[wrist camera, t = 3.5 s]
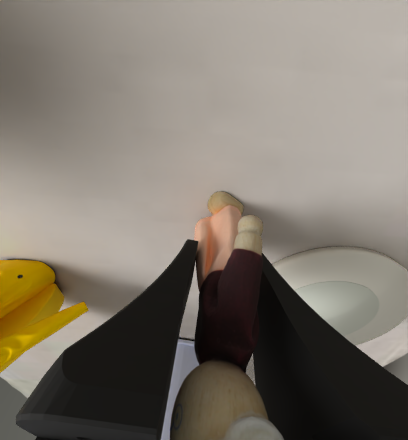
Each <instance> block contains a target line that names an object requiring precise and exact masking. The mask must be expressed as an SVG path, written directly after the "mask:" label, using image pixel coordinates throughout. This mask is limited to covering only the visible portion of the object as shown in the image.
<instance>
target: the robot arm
mask: <svg viewBox="0 0 408 440" xmlns="http://www.w3.org/2000/svg"><path fill="white" fill-rule="evenodd" d="M197 248H198V241H195V240H189V239H188V240H187V241H186V242H185V244H184V246H183V248H182V249H181V251H180V252H179V254H178V255H177V256H176V258H175V259H174V260H173V261H172V263H171V264H170V265H169V266H168V267H167V269H166V270H165V271H164V272H163V273H162V274H161V275H160V276H159V277H158V278H157V279H156V280H155V281H154V282H153V283H152V284H151V285H150V286H149V287H148V288H147V289H146V290H145V291H144V292H143V293H141V294H140V295H139V296H138V297H137V298H136V299H135V300H133V301H132V302H131V303H130V304H129V305H127V306H126V307H125V308H123V309H122V310H121V311H119V312H118V313H117V314H116V315H114V316H113V317H112V318H110V319H109V320H108V321H106V322H105V323H104V324H102V325H101V326H99V327H98V328H96V329H95V330H94V331H92V332H91V333H89V334H88V335H86V336H85V337H83V338H82V339H80V340H79V341H77V342H76V343H74V344H73V345H71V346H70V347H68V348H67V349H66V350H64V352H63V353H62V354H61V355H60V356H59V358H58V359H57V360H56V361H55V363H54V364H53V365H52V366H51V368H50V369H49V370H48V371H47V373H46V374H45V375H44V376H43V378H42V379H41V381H40V382H39V384H38V385H37V387H36V388H35V389H34V391H33V392H32V394H31V395H30V397H29V398H28V400H27V401H26V402H25V404H24V405H23V407H22V408H21V410H20V411H19V413H18V414H17V416H16V424H17V425H18V426H19V427H21V428H22V429H24V430H26V431H28V432H30V433H32V434H33V435H35V436H37V438H36V440H170V424H171V416H172V411H173V407H174V403H175V400H176V396H177V394H178V391H179V389H180V387H181V385H182V383H183V381H184V379H185V378H186V376H187V375H188V374H189V373H190V372H191V371H192V370H193V369H195V368H196V367H197V366H199V363H198V361H197V358H196V354H195V349H194V342H195V341H189V340H182V339H178V338H179V332H180V327H181V322H182V318H183V314H184V310H185V306H186V302H187V299H188V295H189V291H190V287H191V283H192V278H193V272H194V266H195V260H196V254H197ZM262 258H263V268H262V274H261V281H260V290H259V299H258V306H257V312H258V318H259V337H258V342H257V346H256V348H255V349H254V351H253V359H254V371H255V383H256V388H257V390H258V392H259V394H260V396H261V398H262V400H263V403H264V406H265V409H266V412H267V416H268V420H269V421H270V422H271V423H272V424H273V425H274V426H275V427H276V428H277V429H278V431H279V432H280V434H281V435H282V437H283V439H284V440H408V385H407V384H405V383H404V382H403V381H401V380H400V379H398V378H397V377H396V376H394V375H393V374H391V373H390V372H388V371H387V370H385V369H384V368H383V367H382V366H380V365H379V364H378V363H377V362H375V361H374V360H373V359H371V358H370V357H369V356H367V355H366V354H365V353H364V352H362V351H361V350H360V349H358V348H357V347H356V346H355V345H353V344H352V343H351V342H350V341H348V340H347V339H346V338H345V337H344V336H343V335H341V334H340V333H339V332H338V331H337V330H335V329H334V328H333V327H332V326H331V325H330V324H328V323H327V322H326V321H325V320H324V319H323V318H322V317H321V316H320V315H319V314H317V313H316V312H315V311H314V310H313V309H312V308H311V307H310V306H309V305H308V304H307V303H306V302H305V301H304V300H303V299H302V298H301V297H300V296H299V295H298V294H297V293H296V292H295V291H294V290H293V288H292V287H291V286H290V285H289V284H288V283H287V282H286V281H285V280H284V278H283V277H282V276H281V275H280V274H279V273H278V271H277V270H276V269H275V268H274V267H273V265H272V264H271V263H270V262H269V260H268V259H267V258H266V257H265V256H264V254H263V253H262Z"/></svg>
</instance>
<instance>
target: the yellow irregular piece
mask: <svg viewBox="0 0 408 440" xmlns="http://www.w3.org/2000/svg"><path fill="white" fill-rule="evenodd" d="M54 282H55V273H54V271H53V270H52V269H51V268H50V267H49V266H47V265H46V264H44V263H42V262H39V261H32V260H17V259H15V260H0V373H1V372H2V371H3V370H4V369H6V368H7V367H8V366H9V365H10V364H11V363H13V362H14V361H15V360H16V359H17V358H18V357H20V356H21V355H22V354H23V353H24V352H25V351H27V350H29V349H30V348H32V347H33V346H35V345H36V344H38V343H39V342H41V341H42V340H44V339H46V338H47V337H49V336H50V335H52V334H54V333H55V332H57V331H58V330H60V329H61V328H63V327H64V326H66V325H67V324H69V323H70V322H72V321H73V320H75V319H76V318H77V317H79V316H80V315H82V314H84V313H85V312H87V311H88V308H87V306H86V304H85V303H84V302H81V303H79V304H76V305H74V306H71V307H69V308H67V309H64V310H62V311H60V312H59V310H60V308H61V306H62V304H63V301H64V296H63V294H62V293H61V291H60V290H59V288H58V287H57V285H56V284H54Z"/></svg>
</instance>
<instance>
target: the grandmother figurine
mask: <svg viewBox="0 0 408 440" xmlns="http://www.w3.org/2000/svg"><path fill="white" fill-rule="evenodd" d="M208 209H209V211H210V212H211V213H212V214H213V215H212V216H211V217H206V218H203V219H201V220H199V222H198V223H197V224H196V227H195V236H194V240H195V241H198V248H197V254H196V270H197V281H198V288H199V292H200V293H199V310H198V317H197V324H196V332H195V342H194V349H195V354H196V358H197V361H198V363H199V366H197V367H196V368H195V369H193V370H192V371H191V372H190V373H189V374H188V375H187V376H186V378H185V379H184V381H183V383H182V385H181V387H180V389H179V391H178V394H177V396H176V400H175V403H174V407H173V411H172V416H171V424H170V440H284V439H283V437H282V435H281V434H280V432H279V431H278V429H277V428H276V427H275V426H274V425H273V424H272V423H271V422H270V421H269V420H268V416H267V412H266V409H265V406H264V403H263V400H262V398H261V396H260V394H259V392H258V390H257V388H256V386H255V385H254V383H253V381H252V380H251V379H250V377H249V376H248V375H247V374H246V368H247V365H248V362H249V360H250V358H251V356H252V353H253V351H254V349H255V348H256V346H257V342H258V337H259V318H258V312H257V306H258V299H259V290H260V281H261V274H262V268H263V258H262V239H261V237H260V236H261V234H262V231H263V224H262V221H261V220H260V219H259V218H258V217H257V216H255V215H246V216H244V217H241V215H242V213H243V205H242V204H241V203H240V202H239V201H237V200H236V199H235V198H233V197H232V196H231V195H229V194H228V193H226V192H216V193H214V194H213V195H212V196H211V197H210V199H209V201H208Z"/></svg>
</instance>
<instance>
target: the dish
mask: <svg viewBox="0 0 408 440" xmlns="http://www.w3.org/2000/svg"><path fill="white" fill-rule="evenodd" d="M272 265H273V267H274V268H275V269H276V270H277V271H278V273H279V274H280V275H281V276H282V277H283V278H284V280H285V281H286V282H287V283H288V284H289V285H290V286H291V287H292V288H293V290H294V291H295V292H296V293H297V294H298V295H299V296H300V297H301V298H302V299H303V300H304V301H305V302H306V303H307V304H308V305H309V306H310V307H311V308H312V309H313V310H314V311H315V312H316V313H317V314H319V315H320V316H321V317H322V318H323V319H324V320H325V321H326V322H327V323H328V324H330V325H331V326H332V327H333V328H334V329H335V330H337V331H338V332H339V333H340V334H341V335H343V336H344V337H345V338H346V339H347V340H348V341H350V342H351V343H352V344H353V345H358V344H362V343H364V342H367V341H370V340H372V339H375V338H377V337H379V336H381V335H383V334H385V333H387V332H388V331H390V330H391V329H393V328H395V327H396V326H397V325H399V324H400V323H401V322H402V321H403V320H404V319H405V318H406V317H407V316H408V271H407V270H406V269H405V268H404V267H402V266H401V265H400V264H399V263H397V262H396V261H395V260H393V259H392V258H390V257H388V256H386V255H385V254H382V253H379V252H377V251H374V250H369V249H365V248H358V247H326V248H319V249H313V250H308V251H305V252H301V253H297V254H294V255H292V256H289V257H286V258H284V259H282V260H280V261H278V262H276V263H274V264H272Z"/></svg>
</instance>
